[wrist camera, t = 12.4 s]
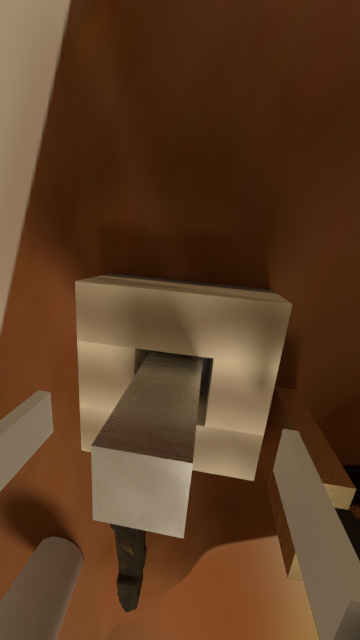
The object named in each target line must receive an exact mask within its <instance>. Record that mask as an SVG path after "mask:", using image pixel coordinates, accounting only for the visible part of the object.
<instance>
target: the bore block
mask: <svg viewBox="0 0 360 640" xmlns="http://www.w3.org/2000/svg"><path fill="white" fill-rule="evenodd" d="M75 294H76V320H77V346H78V372H79V398H80V424H81V450H82V451H88V452H91V445H92V443H93V442H94V440H95V439H96V437H97V435H98V434H99V432H100V431H101V429H102V427H103V426H104V424H105V423H106V421H107V419H108V418H109V416H110V415H111V413H112V411H113V410H114V408H115V407H116V405H117V403H118V402H119V400H120V399H121V397H122V395H123V394H124V392H125V391H126V389H127V387H128V386H129V384H130V383H131V381H132V379H133V378H134V376H135V375H136V373H137V371H138V370H139V368H140V367H141V365H142V363H143V362H144V360H145V359H146V357H147V355H148V354H149V352H150V350H152V351H160V352H168V353H175V354H183V355H191V356H198V357H203V361H202V371H201V382H200V393H199V403H198V414H197V425H196V435H195V446H194V456H193V466H192V470H194V471H200V472H206V473H211V474H217V475H223V476H228V477H234V478H239V479H245V480H251V481H254V478H255V473H256V469H257V464H258V459H259V455H260V450H261V446H262V441H263V437H264V432H265V427H266V423H267V418H268V414H269V409H270V405H271V400H272V395H273V391H274V386H275V382H276V377H277V373H278V368H279V363H280V359H281V354H282V350H283V345H284V341H285V336H286V331H287V327H288V322H289V318H290V313H291V309H292V303H290V302H289V301H287V300H286V299H284V298H283V297H281V296H280V295H278V294H277V293H275V292H274V291H272V290H271V289H264V288H254V287H244V286H234V285H224V284H214V283H204V282H194V281H184V280H174V279H164V278H154V277H144V276H134V275H124V274H114V273H110V274H105V275H101V276H96V277H92V278H87V279H83V280H78V281H75Z"/></svg>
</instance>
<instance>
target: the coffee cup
mask: <svg viewBox="0 0 360 640" xmlns="http://www.w3.org/2000/svg"><path fill="white" fill-rule="evenodd" d="M82 564H83V555H82V552H81V551H80V549H79V548H78V547H77V546H76V545H75V544H73V543H72V542H70V541H69V540H67V539H64V538H61V537H48V538H45V539H44V540H42V541H41V543H40V544H39V546H38V547H37V549H36V550H35V552H34V553H33V555H32V556H31V557H30V559H29V560H28V562H27V563H26V565H25V566H24V568H23V569H22V571H21V572H20V574H19V575H18V577H17V578H16V580H15V581H14V583H13V584H12V586H11V587H10V588H9V590H8V591H7V593H6V594H5V596H4V597H3V599H2V600H1V602H0V640H56V639H57V636H58V634H59V631H60V628H61V625H62V622H63V619H64V616H65V613H66V610H67V608H68V605H69V602H70V599H71V596H72V593H73V590H74V587H75V584H76V582H77V579H78V576H79V573H80V570H81V567H82Z"/></svg>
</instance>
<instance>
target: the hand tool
mask: <svg viewBox="0 0 360 640" xmlns="http://www.w3.org/2000/svg"><path fill="white" fill-rule="evenodd" d="M111 528H112V529H113V530H114V531H115V538H116V548H117V556H118V561H119V575H118V578H117V588H118V596H119V597H120V598H119V601H120V603H121V604H122V608H123V609H124V610H125V611H126V612H129V611H132V610H135V609H136V608H137V605H138V600H139V595H140V589H141V585H142V580H143V568H144V565H145V558H146V552H147V551H146V546H145V545H144V530H140V529H135V528H130V527H125V526H120V525H115V524H111Z"/></svg>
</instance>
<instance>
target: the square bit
mask: <svg viewBox="0 0 360 640" xmlns="http://www.w3.org/2000/svg"><path fill="white" fill-rule="evenodd" d="M202 361H203V357H198V356H191V355H183V354H175V353H168V352H160V351H152V350H150V352H149V354H148V355H147V357H146V359H145V360H144V362H143V363H142V365H141V367H140V368H139V370H138V371H137V373H136V375H135V376H134V378H133V379H132V381H131V383H130V384H129V386H128V387H127V389H126V391H125V392H124V394H123V395H122V397H121V399H120V400H119V402H118V403H117V405H116V407H115V408H114V410H113V411H112V413H111V415H110V416H109V418H108V419H107V421H106V423H105V424H104V426H103V427H102V429H101V431H100V432H99V434H98V435H97V437H96V439H95V440H94V442H93V443H92V445H91V461H92V501H93V520H96V521H101V522H106V523H111V524H115V525H120V526H125V527H130V528H135V529H140V530H144V531H149V532H154V533H159V534H164V535H169V536H173V537H178V538H183V539H184V531H185V523H186V515H187V507H188V499H189V490H190V482H191V474H192V466H193V456H194V446H195V435H196V425H197V414H198V403H199V393H200V382H201V371H202Z"/></svg>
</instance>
